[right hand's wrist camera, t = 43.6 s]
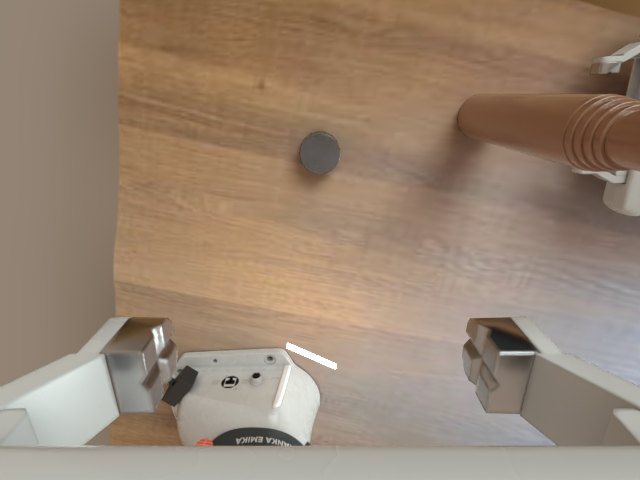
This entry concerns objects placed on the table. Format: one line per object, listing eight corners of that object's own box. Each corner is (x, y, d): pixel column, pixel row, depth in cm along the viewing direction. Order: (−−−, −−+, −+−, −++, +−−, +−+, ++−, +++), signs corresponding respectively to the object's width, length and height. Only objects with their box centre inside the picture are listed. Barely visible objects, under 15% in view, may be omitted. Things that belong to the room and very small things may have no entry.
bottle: (493, 141, 43) (701, 198, 20) (452, 135, 43) (614, 185, 19) (506, 97, 42) (752, 101, 18) (464, 91, 42) (657, 86, 18)
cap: (306, 126, 43) (305, 127, 41) (344, 137, 43) (345, 139, 41) (296, 164, 44) (295, 168, 42) (333, 174, 45) (333, 178, 43)
